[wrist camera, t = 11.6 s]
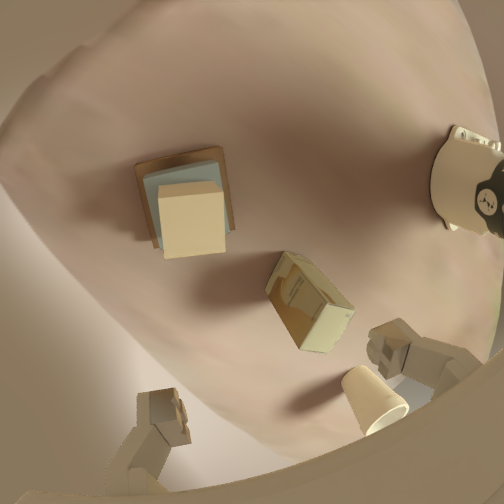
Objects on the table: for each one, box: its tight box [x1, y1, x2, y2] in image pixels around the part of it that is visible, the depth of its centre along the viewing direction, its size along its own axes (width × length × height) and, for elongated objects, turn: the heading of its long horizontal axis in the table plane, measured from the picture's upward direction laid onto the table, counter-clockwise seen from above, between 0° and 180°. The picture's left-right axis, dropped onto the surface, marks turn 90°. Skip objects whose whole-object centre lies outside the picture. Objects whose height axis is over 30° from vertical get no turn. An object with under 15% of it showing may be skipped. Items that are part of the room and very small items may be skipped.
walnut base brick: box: [134, 146, 235, 249], centre depth 32 cm, size 9×9×3 cm
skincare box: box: [265, 251, 356, 354], centre depth 35 cm, size 6×4×12 cm
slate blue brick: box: [143, 159, 230, 249], centre depth 29 cm, size 7×7×3 cm
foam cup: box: [341, 365, 409, 437], centre depth 49 cm, size 10×9×13 cm
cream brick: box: [158, 180, 226, 259], centre depth 26 cm, size 5×5×5 cm
